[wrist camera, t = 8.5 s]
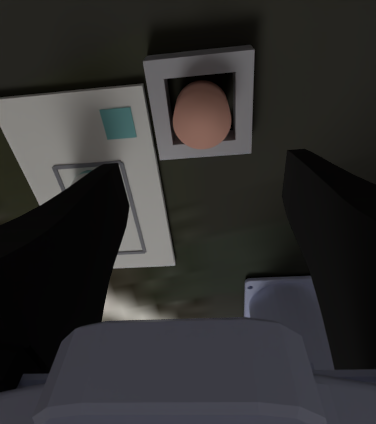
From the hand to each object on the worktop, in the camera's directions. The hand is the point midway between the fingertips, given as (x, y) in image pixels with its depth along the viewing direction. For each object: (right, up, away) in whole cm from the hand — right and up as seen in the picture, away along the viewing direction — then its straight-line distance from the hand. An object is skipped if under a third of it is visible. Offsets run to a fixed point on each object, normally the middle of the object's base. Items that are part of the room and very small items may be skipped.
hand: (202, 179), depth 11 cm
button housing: (0, +6, +7) cm, 9 cm away
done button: (0, +5, +7) cm, 8 cm away
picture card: (-8, 0, +12) cm, 14 cm away
